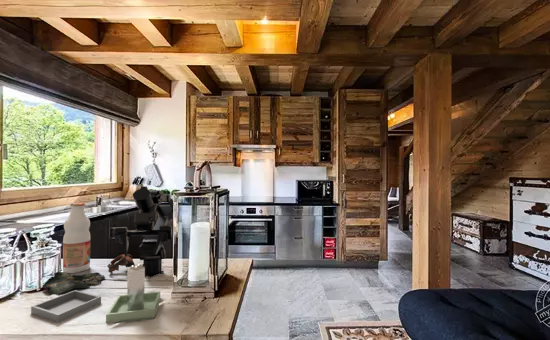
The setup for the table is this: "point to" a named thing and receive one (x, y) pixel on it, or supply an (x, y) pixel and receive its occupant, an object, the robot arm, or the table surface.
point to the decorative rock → (71, 282)
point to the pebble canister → (135, 288)
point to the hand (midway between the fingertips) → (140, 255)
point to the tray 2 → (122, 315)
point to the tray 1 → (65, 305)
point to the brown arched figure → (120, 262)
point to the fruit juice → (76, 240)
